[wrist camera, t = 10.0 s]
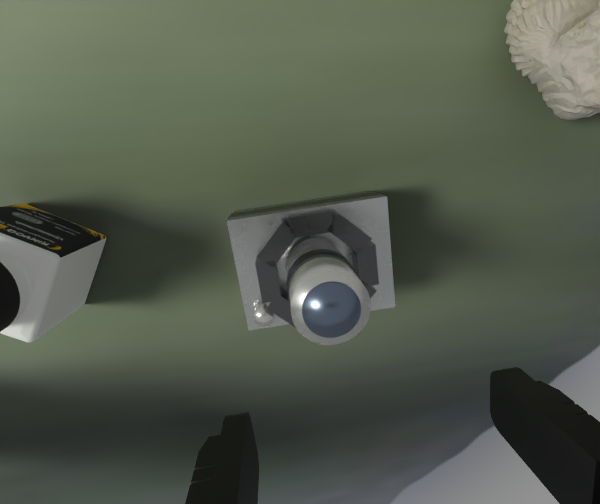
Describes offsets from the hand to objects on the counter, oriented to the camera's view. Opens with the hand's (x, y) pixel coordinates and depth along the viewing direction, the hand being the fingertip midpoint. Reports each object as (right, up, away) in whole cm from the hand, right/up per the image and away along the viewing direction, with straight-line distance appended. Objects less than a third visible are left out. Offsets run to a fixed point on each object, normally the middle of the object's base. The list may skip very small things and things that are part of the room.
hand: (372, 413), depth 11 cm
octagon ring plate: (-2, +5, +20) cm, 21 cm away
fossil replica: (+18, +21, +18) cm, 33 cm away
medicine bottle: (-24, +5, +19) cm, 31 cm away
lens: (-1, +4, +15) cm, 16 cm away
